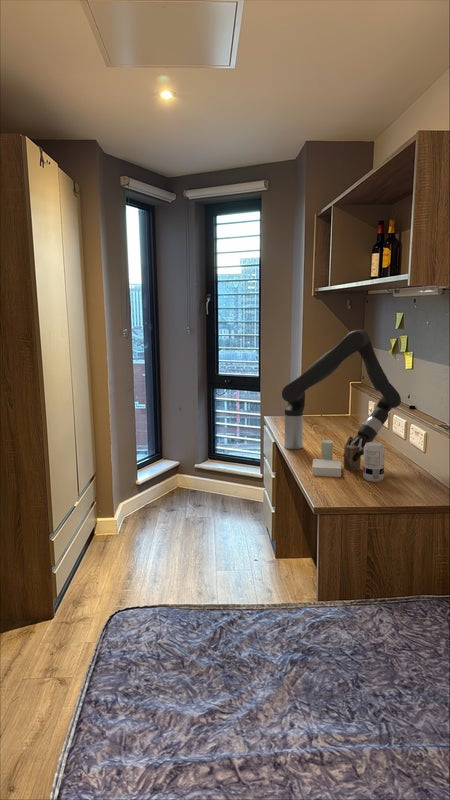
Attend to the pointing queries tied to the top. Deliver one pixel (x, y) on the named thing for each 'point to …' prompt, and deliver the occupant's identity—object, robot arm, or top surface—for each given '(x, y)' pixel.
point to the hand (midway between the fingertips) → (349, 458)
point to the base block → (326, 467)
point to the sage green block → (327, 450)
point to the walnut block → (348, 455)
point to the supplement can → (373, 461)
